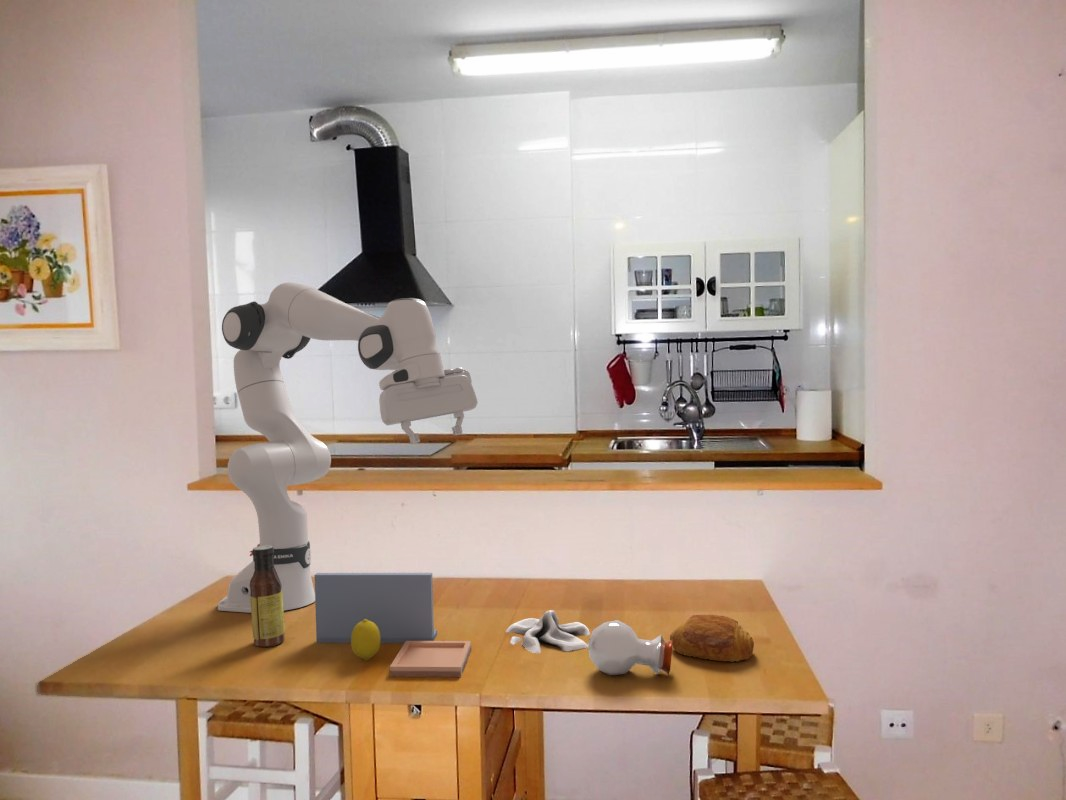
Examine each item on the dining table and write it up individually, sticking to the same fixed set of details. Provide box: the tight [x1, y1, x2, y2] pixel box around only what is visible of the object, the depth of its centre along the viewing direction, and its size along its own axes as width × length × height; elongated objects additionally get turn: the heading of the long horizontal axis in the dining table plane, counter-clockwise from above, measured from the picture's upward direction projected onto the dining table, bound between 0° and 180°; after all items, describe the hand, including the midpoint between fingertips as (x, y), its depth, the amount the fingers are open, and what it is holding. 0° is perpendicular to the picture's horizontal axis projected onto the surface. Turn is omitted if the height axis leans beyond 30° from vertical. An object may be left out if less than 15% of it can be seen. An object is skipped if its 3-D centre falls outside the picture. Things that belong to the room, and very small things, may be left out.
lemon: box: [350, 619, 381, 661], centre depth 146 cm, size 6×6×8 cm
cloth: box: [505, 609, 591, 654], centre depth 156 cm, size 22×19×6 cm
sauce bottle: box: [250, 545, 286, 648], centre depth 156 cm, size 7×6×20 cm
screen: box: [314, 572, 438, 644], centre depth 158 cm, size 24×5×14 cm, turn 86°
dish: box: [389, 640, 472, 678], centre depth 145 cm, size 13×13×2 cm
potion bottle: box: [587, 619, 673, 676], centre depth 138 cm, size 9×10×15 cm
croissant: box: [669, 614, 755, 663], centre depth 148 cm, size 14×16×8 cm
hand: (437, 438), depth 156 cm, fingers open, 8 cm apart
